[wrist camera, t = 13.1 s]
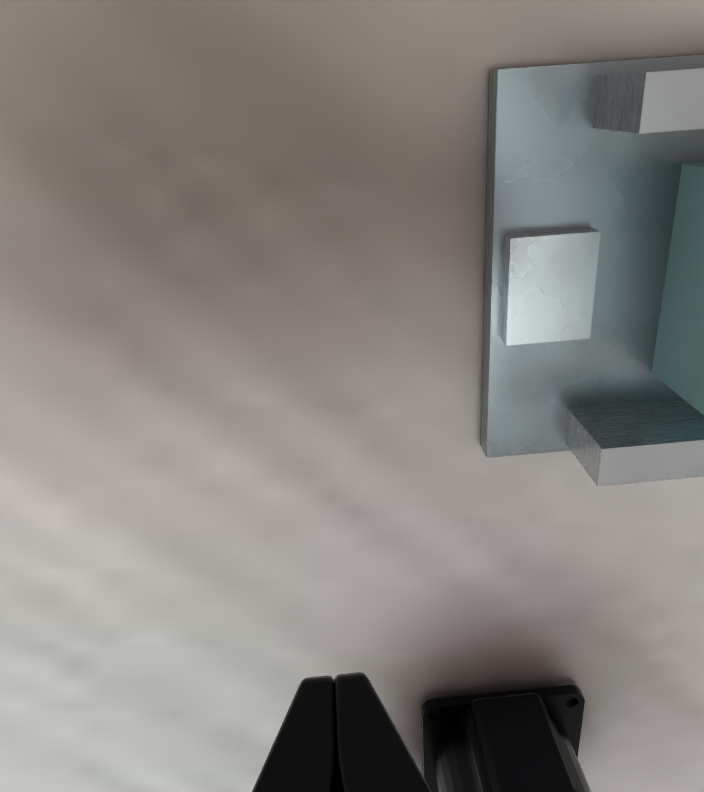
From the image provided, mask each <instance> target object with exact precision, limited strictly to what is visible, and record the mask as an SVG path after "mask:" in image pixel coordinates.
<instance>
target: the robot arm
mask: <svg viewBox="0 0 704 792" xmlns="http://www.w3.org/2000/svg"><path fill="white" fill-rule="evenodd" d="M584 702H585V700H584V697H583V694H582V692H581V690H580V689H579V688H578V687H577V686H574V685H567V686H557V687H547V688H537V689H527V690H517V691H507V692H498V693H488V694H478V695H468V696H458V697H448V698H438V699H431V700H428V701H426V702H424V704H423V705H422V707H421V724H422V761H423V776H422V774H421V772H420V770H419V768H418V767H417V765H416V763H415V761H414V759H413V758H412V756H411V754H410V752H409V750H408V749H407V747H406V745H405V743H404V742H403V740H402V738H401V736H400V734H399V733H398V731H397V729H396V727H395V725H394V724H393V722H392V720H391V718H390V717H389V715H388V713H387V711H386V709H385V708H384V706H383V704H382V702H381V700H380V699H379V697H378V695H377V693H376V692H375V690H374V688H373V686H372V684H371V683H370V681H369V679H368V677H367V676H366V675H365V674H364V673H360V672H359V673H349V674H339V675H337V676H336V677H335V679H333V678H332V677H331V676H319V677H309V678H305V679H304V680H302V682H301V683H300V685H299V687H298V689H297V692H296V694H295V696H294V698H293V701H292V703H291V705H290V707H289V710H288V712H287V714H286V716H285V719H284V721H283V723H282V725H281V728H280V730H279V732H278V734H277V737H276V739H275V741H274V743H273V746H272V748H271V750H270V752H269V755H268V757H267V759H266V761H265V764H264V766H263V768H262V770H261V773H260V775H259V777H258V779H257V782H256V784H255V786H254V788H253V791H252V792H591V791H590V788H589V786H588V783H587V781H586V778H585V776H584V773H583V771H582V768H581V766H580V764H579V761H578V759H577V756H578V748H579V741H580V733H581V725H582V718H583V710H584Z"/></svg>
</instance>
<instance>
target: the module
mask: <svg viewBox="0 0 704 792" xmlns="http://www.w3.org/2000/svg"><path fill="white" fill-rule="evenodd" d="M651 373H652V374H653V375H654V376H656V377H657V378H658V379H659V380H661V381H662V382H663V383H664V384H666V385H667V386H668V387H669V388H671V389H672V390H673V391H674V392H675V393H677V394H678V395H679V396H680V397H682V398H683V399H684V400H685V401H687V402H688V403H689V404H690V405H692V406H693V407H694V408H695V409H697V410H698V411H699V412H700V413H701V414H703V415H704V162H698V163H685V164H682V169H681V176H680V182H679V189H678V196H677V203H676V209H675V216H674V223H673V230H672V237H671V243H670V250H669V257H668V264H667V270H666V277H665V284H664V291H663V297H662V304H661V311H660V318H659V324H658V331H657V338H656V345H655V352H654V358H653V365H652V372H651Z"/></svg>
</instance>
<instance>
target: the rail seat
mask: <svg viewBox="0 0 704 792" xmlns="http://www.w3.org/2000/svg"><path fill="white" fill-rule="evenodd" d="M698 162H704V54H703V55H689V56H675V57H661V58H647V59H633V60H620V61H606V62H592V63H578V64H564V65H550V66H536V67H522V68H508V69H496V70H490V73H489V114H488V156H487V197H486V239H485V280H484V322H483V363H482V405H481V447H482V449H483V451H484V453H485V455H486V457H487V458H488V457H499V456H511V455H522V454H533V453H544V452H555V451H566V450H571V451H572V452H573V454H574V455H575V456H576V458H577V459H578V460H579V462H580V463H581V465H582V466H583V467H584V469H585V470H586V471H587V473H588V474H589V475H590V477H591V478H592V479H593V481H594V482H595V483H596V485H597V486H604V485H615V484H626V483H637V482H648V481H659V480H670V479H681V478H692V477H703V476H704V415H703V414H701V413H700V412H699V411H698V410H697V409H695V408H694V407H693V406H692V405H690V404H689V403H688V402H687V401H685V400H684V399H683V398H682V397H680V396H679V395H678V394H677V393H675V392H674V391H673V390H672V389H671V388H669V387H668V386H667V385H666V384H664V383H663V382H662V381H661V380H659V379H658V378H657V377H656V376H654V375H653V374H652V373H651V372H652V365H653V358H654V352H655V345H656V338H657V331H658V324H659V318H660V311H661V304H662V297H663V291H664V284H665V277H666V270H667V264H668V257H669V250H670V243H671V237H672V230H673V223H674V216H675V209H676V203H677V196H678V189H679V182H680V176H681V169H682V164H685V163H698Z"/></svg>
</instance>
